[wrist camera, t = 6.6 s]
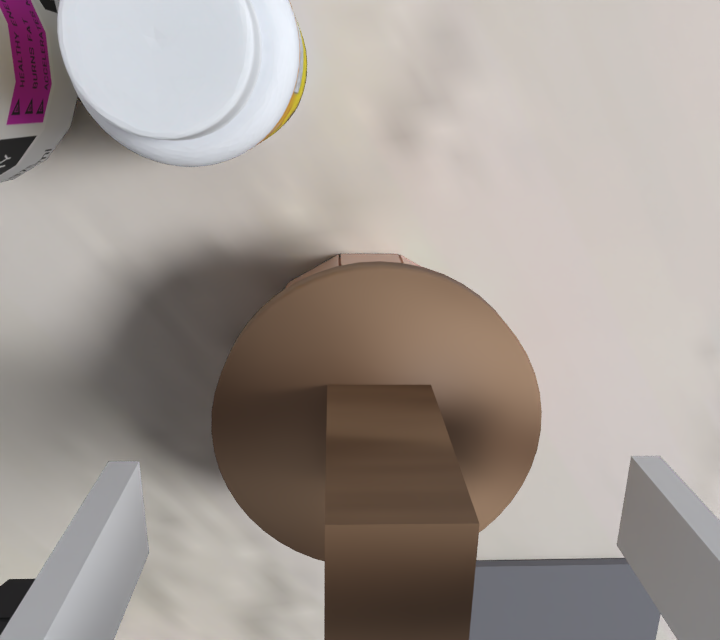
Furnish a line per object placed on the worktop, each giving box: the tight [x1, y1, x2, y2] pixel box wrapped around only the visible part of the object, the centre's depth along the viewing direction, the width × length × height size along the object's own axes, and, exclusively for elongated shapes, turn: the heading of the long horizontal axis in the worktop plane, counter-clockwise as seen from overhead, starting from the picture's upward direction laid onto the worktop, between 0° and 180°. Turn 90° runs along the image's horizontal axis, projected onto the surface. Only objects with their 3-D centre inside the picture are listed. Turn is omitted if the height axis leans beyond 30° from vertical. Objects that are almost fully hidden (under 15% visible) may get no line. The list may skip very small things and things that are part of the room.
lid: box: [211, 261, 541, 640], centre depth 18 cm, size 10×10×8 cm
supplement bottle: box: [57, 0, 307, 167], centre depth 18 cm, size 6×6×10 cm
